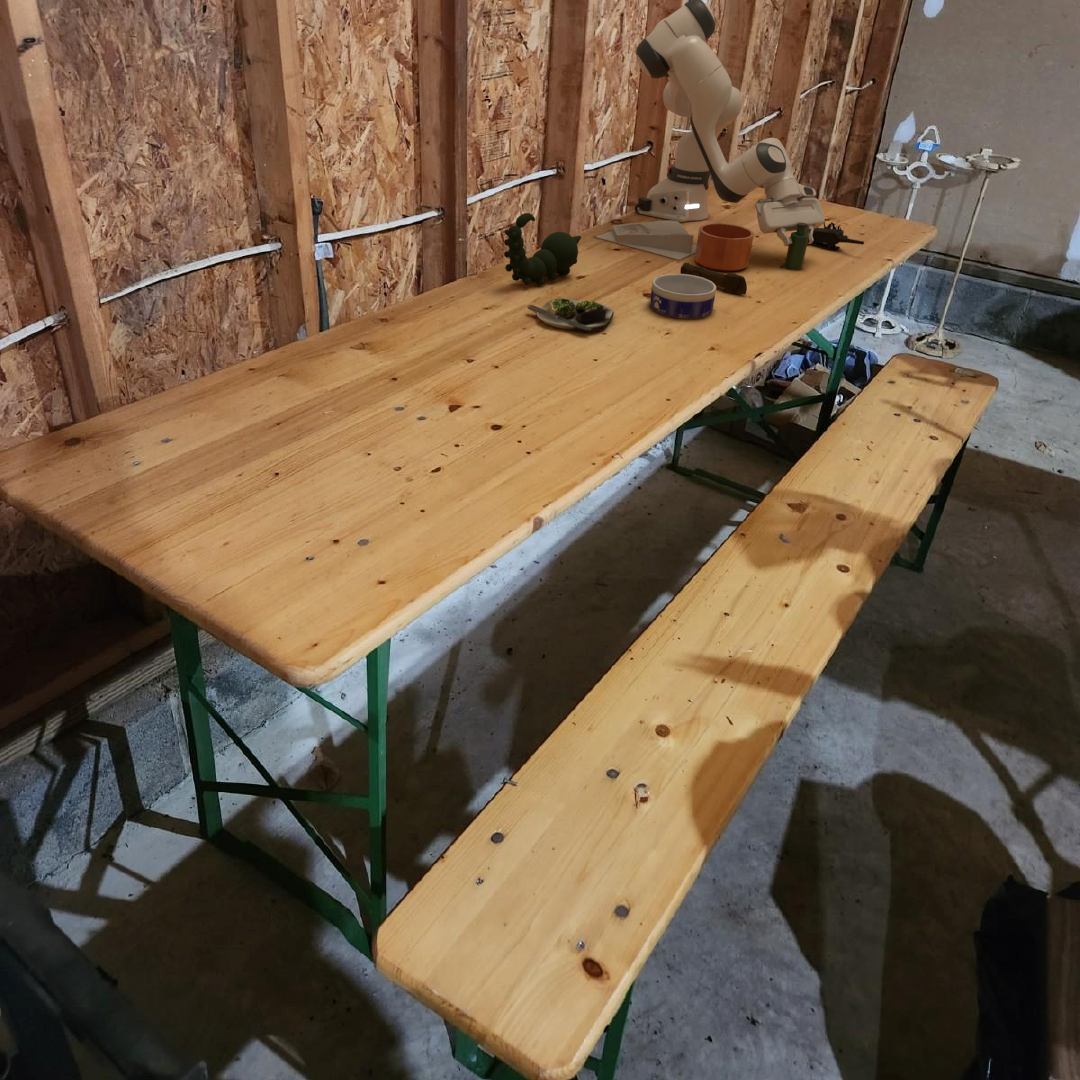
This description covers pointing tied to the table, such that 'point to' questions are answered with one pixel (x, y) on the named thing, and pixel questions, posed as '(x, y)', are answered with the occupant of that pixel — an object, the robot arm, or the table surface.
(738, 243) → the pot
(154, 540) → the table surface
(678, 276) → the dog bowl
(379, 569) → the table surface
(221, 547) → the table surface
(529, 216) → the toy figurine
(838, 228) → the creature
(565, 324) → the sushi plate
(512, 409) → the table surface
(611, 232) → the ramp
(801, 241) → the plant food bottle
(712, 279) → the dark brown rough bar
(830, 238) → the walkie-talkie
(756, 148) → the robot arm
